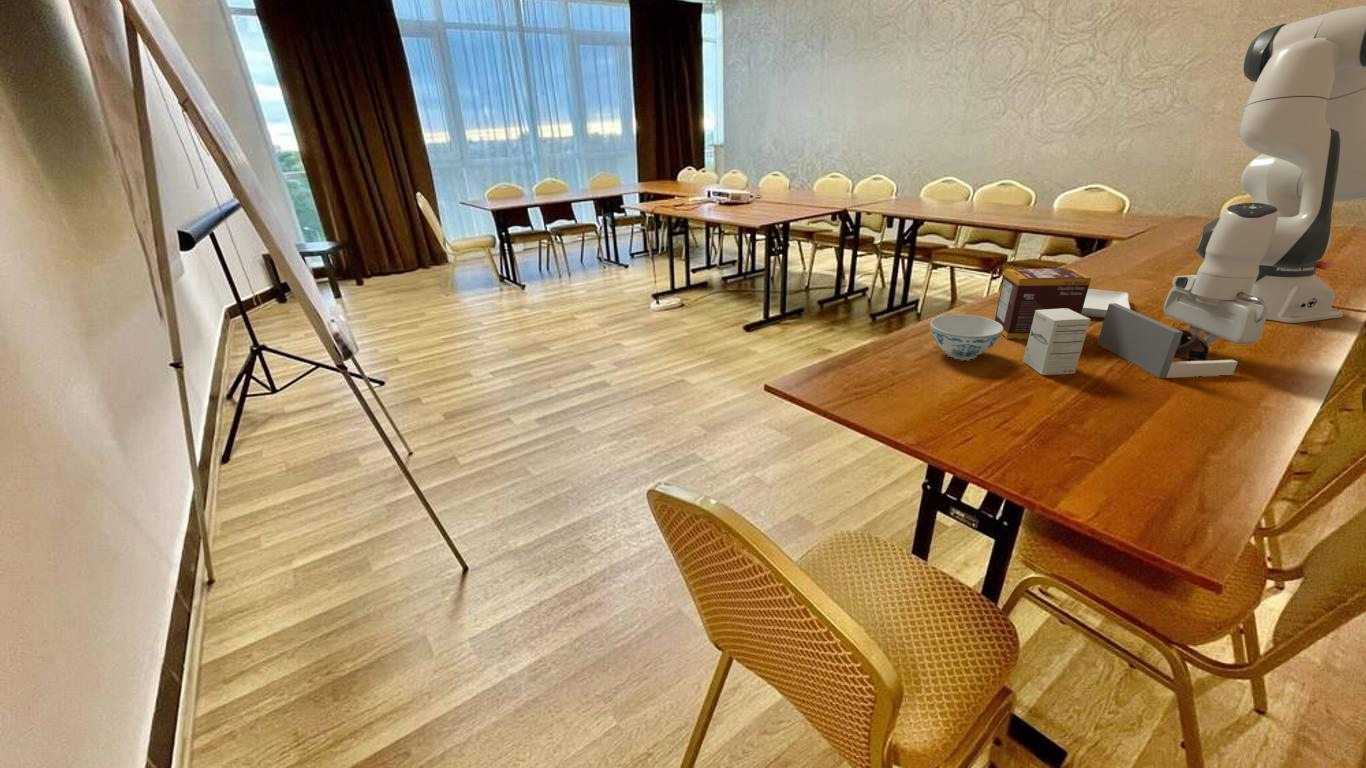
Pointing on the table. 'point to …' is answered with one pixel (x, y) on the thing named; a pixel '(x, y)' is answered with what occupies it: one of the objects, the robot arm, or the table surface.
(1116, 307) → the display stand
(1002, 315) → the supplement box
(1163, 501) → the table surface
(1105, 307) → the salad plate
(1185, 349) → the pottery mug
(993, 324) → the chinaware
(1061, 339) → the supplement box
